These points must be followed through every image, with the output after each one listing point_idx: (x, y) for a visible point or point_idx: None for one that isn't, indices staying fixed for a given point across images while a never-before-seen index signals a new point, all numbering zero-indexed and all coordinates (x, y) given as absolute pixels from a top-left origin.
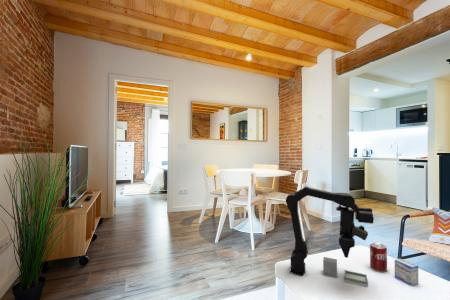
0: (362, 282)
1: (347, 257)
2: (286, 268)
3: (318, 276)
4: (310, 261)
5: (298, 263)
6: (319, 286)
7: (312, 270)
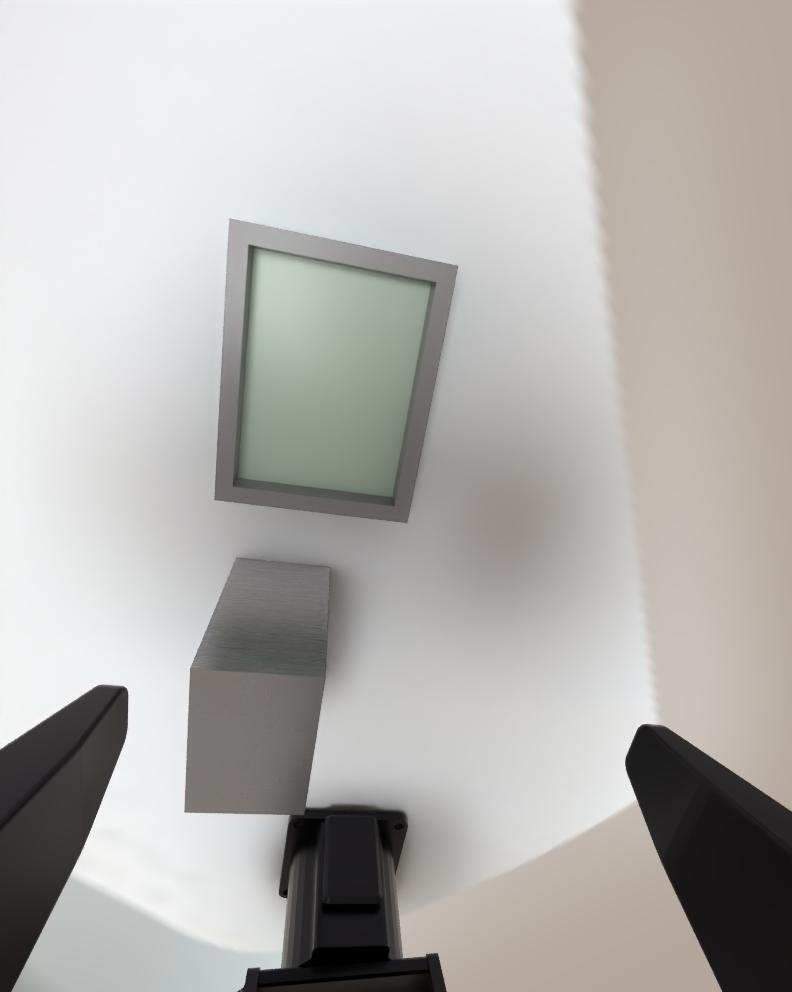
0: (443, 332)
1: (664, 728)
2: None
3: (372, 712)
4: None
5: (401, 953)
6: (534, 704)
7: None
